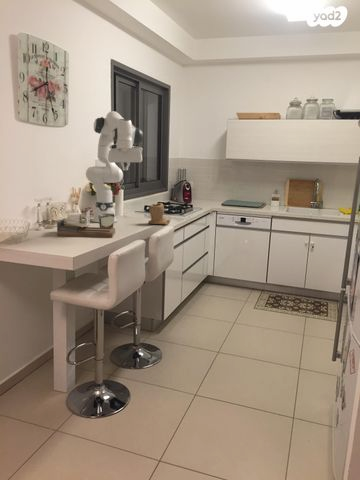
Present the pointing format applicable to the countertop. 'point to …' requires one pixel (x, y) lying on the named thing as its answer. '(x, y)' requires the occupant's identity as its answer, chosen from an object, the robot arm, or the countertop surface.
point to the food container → (106, 220)
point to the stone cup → (157, 214)
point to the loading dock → (83, 231)
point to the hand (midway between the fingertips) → (125, 170)
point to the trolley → (78, 219)
